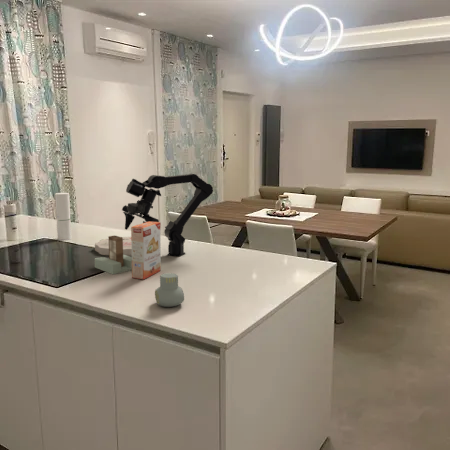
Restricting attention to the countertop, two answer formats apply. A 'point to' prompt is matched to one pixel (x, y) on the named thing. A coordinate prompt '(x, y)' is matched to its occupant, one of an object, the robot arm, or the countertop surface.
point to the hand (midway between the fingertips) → (132, 232)
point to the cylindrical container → (63, 216)
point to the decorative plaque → (103, 246)
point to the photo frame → (116, 249)
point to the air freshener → (169, 291)
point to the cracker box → (146, 249)
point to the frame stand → (113, 264)
